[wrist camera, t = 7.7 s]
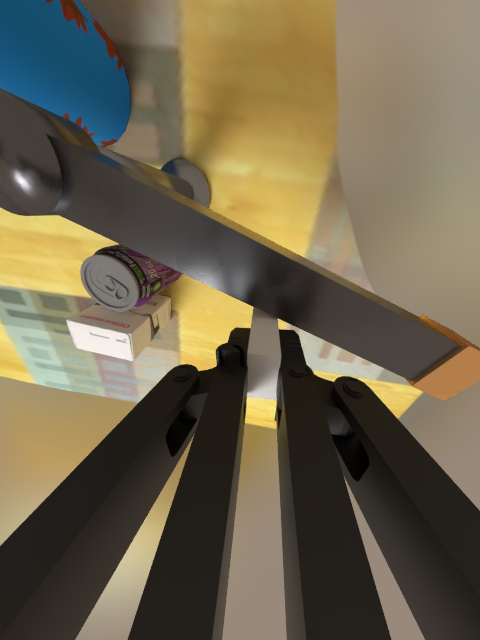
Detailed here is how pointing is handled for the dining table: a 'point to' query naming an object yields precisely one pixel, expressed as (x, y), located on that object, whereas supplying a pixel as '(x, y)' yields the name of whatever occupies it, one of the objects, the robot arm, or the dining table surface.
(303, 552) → the robot arm
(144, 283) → the beverage can
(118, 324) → the ink box
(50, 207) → the swing bar
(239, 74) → the dining table surface
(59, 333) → the dining table surface
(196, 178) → the post
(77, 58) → the thermos
